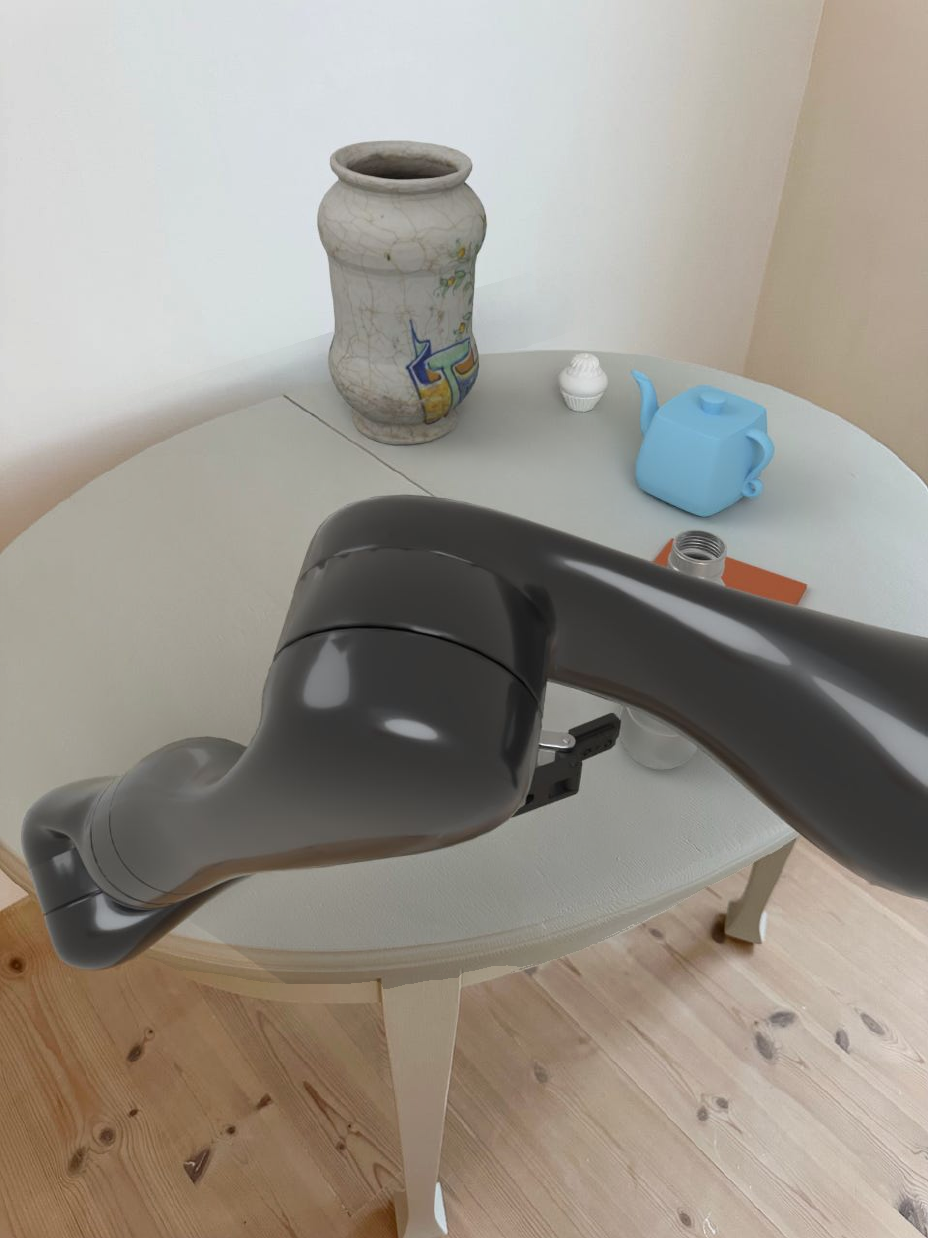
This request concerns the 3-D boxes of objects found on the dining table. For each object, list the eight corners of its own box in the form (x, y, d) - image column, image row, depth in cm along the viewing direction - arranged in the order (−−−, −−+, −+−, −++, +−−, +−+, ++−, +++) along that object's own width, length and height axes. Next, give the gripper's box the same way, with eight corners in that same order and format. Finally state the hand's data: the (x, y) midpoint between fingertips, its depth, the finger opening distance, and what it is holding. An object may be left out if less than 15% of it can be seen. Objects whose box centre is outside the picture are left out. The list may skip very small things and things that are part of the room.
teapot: (649, 436, 114) (664, 345, 107) (784, 494, 105) (811, 399, 98) (586, 475, 107) (597, 381, 100) (725, 541, 98) (748, 443, 91)
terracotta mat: (806, 589, 92) (807, 584, 92) (765, 659, 85) (767, 654, 84) (671, 542, 98) (671, 537, 98) (621, 604, 90) (622, 599, 90)
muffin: (580, 390, 123) (585, 338, 119) (615, 408, 120) (621, 355, 115) (545, 404, 120) (549, 351, 116) (579, 423, 117) (585, 369, 112)
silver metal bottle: (613, 774, 74) (650, 570, 61) (617, 713, 79) (651, 512, 66) (697, 786, 73) (752, 581, 61) (696, 723, 79) (746, 522, 66)
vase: (507, 410, 119) (521, 150, 99) (427, 474, 107) (425, 193, 88) (389, 373, 126) (380, 123, 106) (302, 430, 114) (274, 161, 95)
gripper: (414, 810, 53) (650, 713, 59) (319, 656, 63) (531, 585, 69) (417, 888, 58) (635, 791, 64) (329, 734, 68) (526, 662, 73)
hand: (581, 685), depth 66 cm, fingers open, 8 cm apart
